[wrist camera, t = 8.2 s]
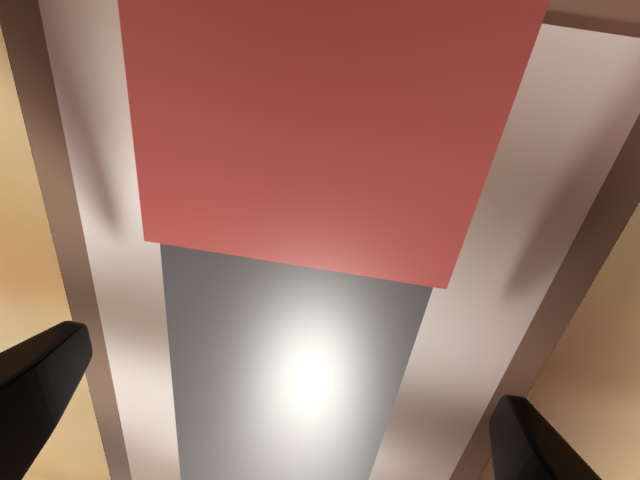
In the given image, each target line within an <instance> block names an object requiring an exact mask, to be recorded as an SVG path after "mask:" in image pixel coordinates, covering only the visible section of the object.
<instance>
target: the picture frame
mask: <svg viewBox="0 0 640 480" xmlns="http://www.w3.org/2000/svg"><path fill="white" fill-rule="evenodd" d="M0 24H1V28H2V32H3V36H4V40H5V44H6V49H7V53H8V57H9V61H10V65H11V69H12V73H13V77H14V81H15V86H16V90H17V94H18V98H19V102H20V106H21V110H22V114H23V118H24V123H25V127H26V131H27V135H28V139H29V143H30V147H31V151H32V156H33V160H34V164H35V168H36V172H37V176H38V180H39V184H40V188H41V193H42V197H43V201H44V205H45V209H46V213H47V217H48V221H49V226H50V230H51V234H52V238H53V242H54V246H55V250H56V254H57V258H58V263H59V267H60V271H61V275H62V279H63V283H64V287H65V291H66V295H67V300H68V304H69V308H70V312H71V316H72V320H73V321H74V322H80V323H84V324H86V326H87V327H88V330H89V335H90V339H91V344H92V349H93V355H92V359H91V361H90V363H89V365H88V367H87V369H86V371H85V374H86V378H87V382H88V386H89V390H90V394H91V398H92V402H93V407H94V411H95V415H96V419H97V423H98V427H99V431H100V435H101V440H102V444H103V448H104V452H105V456H106V460H107V464H108V468H109V472H110V477H111V480H181V477H180V466H179V455H178V443H177V432H176V421H175V409H174V398H173V387H172V375H171V364H170V353H169V341H168V330H167V319H166V307H165V296H164V285H163V273H162V262H161V251H160V243H154V242H148V241H144V235H143V226H142V217H141V208H140V199H139V190H138V181H137V172H136V163H135V154H134V145H133V136H132V127H131V118H130V109H129V100H128V91H127V82H126V73H125V64H124V55H123V46H122V37H121V28H120V19H119V10H118V1H117V0H0ZM639 202H640V0H550V3H549V5H548V8H547V11H546V14H545V17H544V19H543V22H542V25H541V28H540V31H539V33H538V36H537V39H536V42H535V45H534V47H533V50H532V53H531V56H530V58H529V61H528V64H527V67H526V70H525V72H524V75H523V78H522V81H521V84H520V86H519V89H518V92H517V95H516V98H515V100H514V103H513V106H512V109H511V111H510V114H509V117H508V120H507V123H506V125H505V128H504V131H503V134H502V137H501V139H500V142H499V145H498V148H497V151H496V153H495V156H494V159H493V162H492V164H491V167H490V170H489V173H488V176H487V178H486V181H485V184H484V187H483V190H482V192H481V195H480V198H479V201H478V204H477V206H476V209H475V212H474V215H473V217H472V220H471V223H470V226H469V229H468V231H467V234H466V237H465V240H464V243H463V245H462V248H461V251H460V254H459V257H458V259H457V262H456V265H455V268H454V270H453V273H452V276H451V279H450V282H449V284H448V287H447V289H441V288H435V287H433V290H432V293H431V296H430V299H429V301H428V304H427V307H426V310H425V313H424V316H423V319H422V322H421V325H420V328H419V331H418V334H417V337H416V340H415V343H414V346H413V349H412V352H411V355H410V358H409V361H408V364H407V367H406V370H405V373H404V376H403V379H402V382H401V385H400V388H399V391H398V394H397V397H396V400H395V403H394V406H393V409H392V412H391V415H390V418H389V421H388V423H387V426H386V429H385V432H384V435H383V438H382V441H381V444H380V447H379V450H378V453H377V456H376V459H375V462H374V465H373V468H372V471H371V474H370V477H369V480H477V479H478V478H479V476H480V474H481V473H482V471H483V469H484V467H485V466H486V464H487V462H488V461H489V459H490V457H491V455H492V452H491V444H490V436H489V419H490V416H491V414H492V412H493V410H494V408H495V407H496V405H497V403H498V401H499V399H500V397H501V396H502V395H503V394H512V395H518V396H522V397H524V398H525V397H526V395H527V394H528V392H529V390H530V389H531V387H532V385H533V383H534V382H535V380H536V378H537V377H538V375H539V373H540V371H541V370H542V368H543V366H544V365H545V363H546V361H547V360H548V358H549V356H550V354H551V353H552V351H553V349H554V348H555V346H556V344H557V342H558V341H559V339H560V337H561V336H562V334H563V332H564V330H565V329H566V327H567V325H568V324H569V322H570V320H571V318H572V317H573V315H574V313H575V312H576V310H577V308H578V306H579V305H580V303H581V301H582V300H583V298H584V296H585V294H586V293H587V291H588V289H589V288H590V286H591V284H592V282H593V281H594V279H595V277H596V276H597V274H598V272H599V270H600V269H601V267H602V265H603V264H604V262H605V260H606V259H607V257H608V255H609V253H610V252H611V250H612V248H613V247H614V245H615V243H616V241H617V240H618V238H619V236H620V235H621V233H622V231H623V229H624V228H625V226H626V224H627V223H628V221H629V219H630V217H631V216H632V214H633V212H634V211H635V209H636V207H637V205H638V204H639Z"/></svg>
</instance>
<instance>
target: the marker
mask: <svg viewBox="0 0 640 480" xmlns="http://www.w3.org/2000/svg"><path fill="white" fill-rule="evenodd" d="M117 1H118V10H119V19H120V28H121V37H122V46H123V55H124V64H125V73H126V82H127V91H128V100H129V109H130V118H131V127H132V136H133V145H134V154H135V163H136V172H137V181H138V190H139V199H140V208H141V217H142V226H143V235H144V241H148V242H154V243H160V251H161V262H162V273H163V285H164V296H165V307H166V319H167V330H168V341H169V353H170V364H171V375H172V387H173V398H174V409H175V421H176V432H177V443H178V455H179V466H180V477H181V480H369V477H370V474H371V471H372V468H373V465H374V462H375V459H376V456H377V453H378V450H379V447H380V444H381V441H382V438H383V435H384V432H385V429H386V426H387V423H388V421H389V418H390V415H391V412H392V409H393V406H394V403H395V400H396V397H397V394H398V391H399V388H400V385H401V382H402V379H403V376H404V373H405V370H406V367H407V364H408V361H409V358H410V355H411V352H412V349H413V346H414V343H415V340H416V337H417V334H418V331H419V328H420V325H421V322H422V319H423V316H424V313H425V310H426V307H427V304H428V301H429V299H430V296H431V293H432V290H433V287H435V288H441V289H447V287H448V284H449V282H450V279H451V276H452V273H453V270H454V268H455V265H456V262H457V259H458V257H459V254H460V251H461V248H462V245H463V243H464V240H465V237H466V234H467V231H468V229H469V226H470V223H471V220H472V217H473V215H474V212H475V209H476V206H477V204H478V201H479V198H480V195H481V192H482V190H483V187H484V184H485V181H486V178H487V176H488V173H489V170H490V167H491V164H492V162H493V159H494V156H495V153H496V151H497V148H498V145H499V142H500V139H501V137H502V134H503V131H504V128H505V125H506V123H507V120H508V117H509V114H510V111H511V109H512V106H513V103H514V100H515V98H516V95H517V92H518V89H519V86H520V84H521V81H522V78H523V75H524V72H525V70H526V67H527V64H528V61H529V58H530V56H531V53H532V50H533V47H534V45H535V42H536V39H537V36H538V33H539V31H540V28H541V25H542V22H543V19H544V17H545V14H546V11H547V8H548V5H549V3H550V0H117Z"/></svg>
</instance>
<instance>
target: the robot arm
mask: <svg viewBox="0 0 640 480" xmlns="http://www.w3.org/2000/svg"><path fill="white" fill-rule="evenodd" d="M92 355H93V349H92V344H91V339H90V335H89V330H88V327H87V326H86V324H84V323H80V322H74V321H64V322H62V323H59V324H57V325H55V326H53V327H51V328H49V329H47V330H45V331H43V332H41V333H39V334H37V335H35V336H33V337H31V338H29V339H27V340H25V341H23V342H21V343H19V344H17V345H15V346H13V347H11V348H9V349H7V350H5V351H3V352H1V353H0V480H22V478H23V477H24V475H25V474H26V472H27V471H28V469H29V468H30V466H31V465H32V463H33V462H34V460H35V459H36V457H37V456H38V454H39V452H40V451H41V449H42V448H43V446H44V445H45V443H46V442H47V440H48V439H49V437H50V436H51V434H52V432H53V431H54V429H55V428H56V426H57V424H58V422H59V420H60V419H61V417H62V415H63V413H64V411H65V409H66V407H67V405H68V403H69V402H70V400H71V398H72V396H73V394H74V392H75V390H76V388H77V386H78V384H79V382H80V381H81V379H82V377H83V375H84V373H85V371H86V369H87V367H88V365H89V363H90V361H91V359H92ZM489 436H490V444H491V452H492V460H493V468H494V475H495V480H602V479H601V478H600V477H599V476H598V475H597V474H596V473H595V472H594V471H593V470H592V469H591V467H590V466H589V465H588V464H587V463H586V462H585V461H584V460H583V459H582V458H581V457H580V456H579V455H578V454H577V452H576V451H575V450H574V449H573V448H572V447H571V446H570V445H569V444H568V443H567V442H566V441H565V440H564V439H563V437H562V436H561V435H560V434H559V433H558V432H557V431H556V430H555V429H554V428H553V427H552V426H551V425H550V424H549V422H548V421H547V420H546V419H545V418H544V417H543V416H542V415H541V414H540V413H539V412H538V411H537V410H536V409H535V407H534V406H533V405H532V404H531V403H530V402H529V401H528V400H527V399H526V398H524V397H522V396H518V395H512V394H503V395H502V396H501V397H500V399H499V401H498V403H497V405H496V407H495V408H494V410H493V412H492V414H491V416H490V419H489Z"/></svg>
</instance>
